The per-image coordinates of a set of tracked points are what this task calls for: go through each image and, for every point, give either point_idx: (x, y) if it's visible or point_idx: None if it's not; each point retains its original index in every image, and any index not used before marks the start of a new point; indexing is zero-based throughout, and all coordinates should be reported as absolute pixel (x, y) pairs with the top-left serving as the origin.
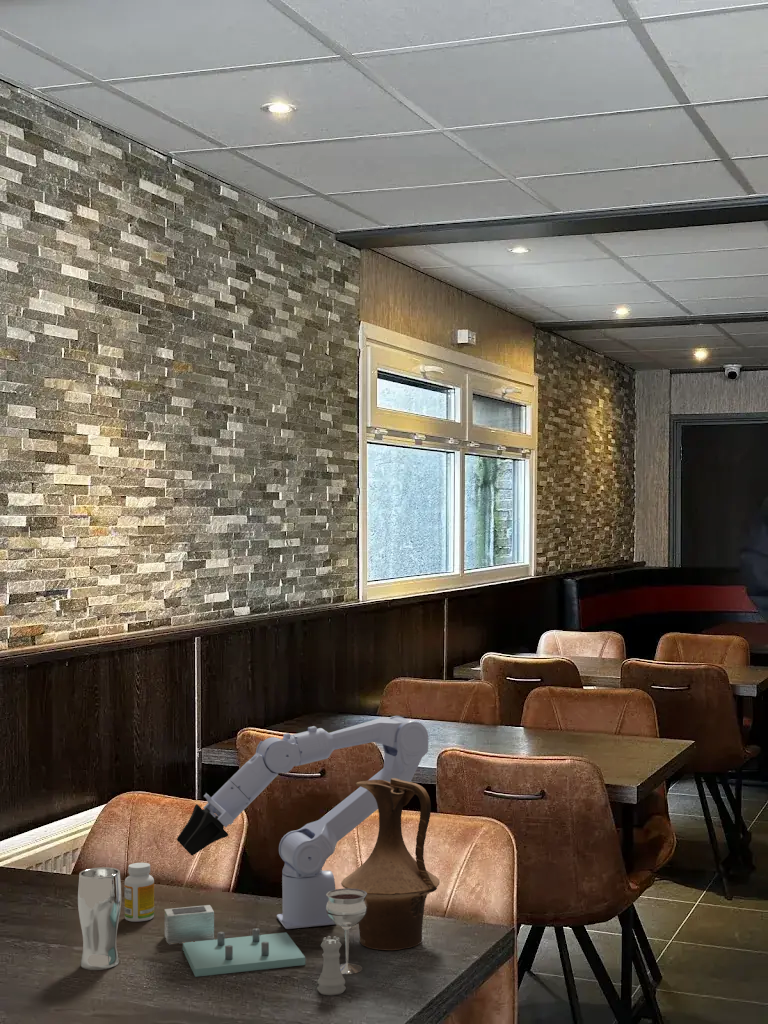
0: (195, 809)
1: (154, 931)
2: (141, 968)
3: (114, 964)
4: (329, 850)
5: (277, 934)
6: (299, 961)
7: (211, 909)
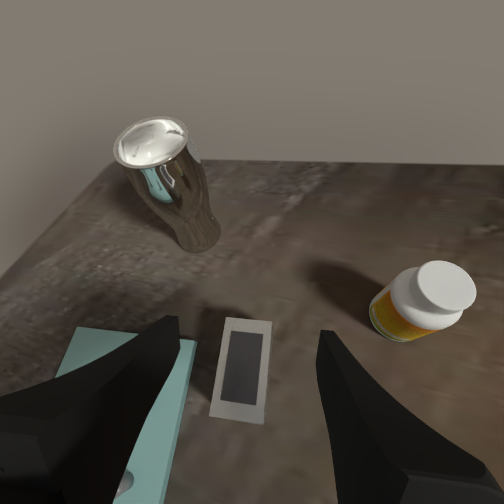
0: (399, 444)
1: (308, 323)
2: (157, 273)
3: (180, 245)
4: None
5: None
6: None
7: (227, 415)
